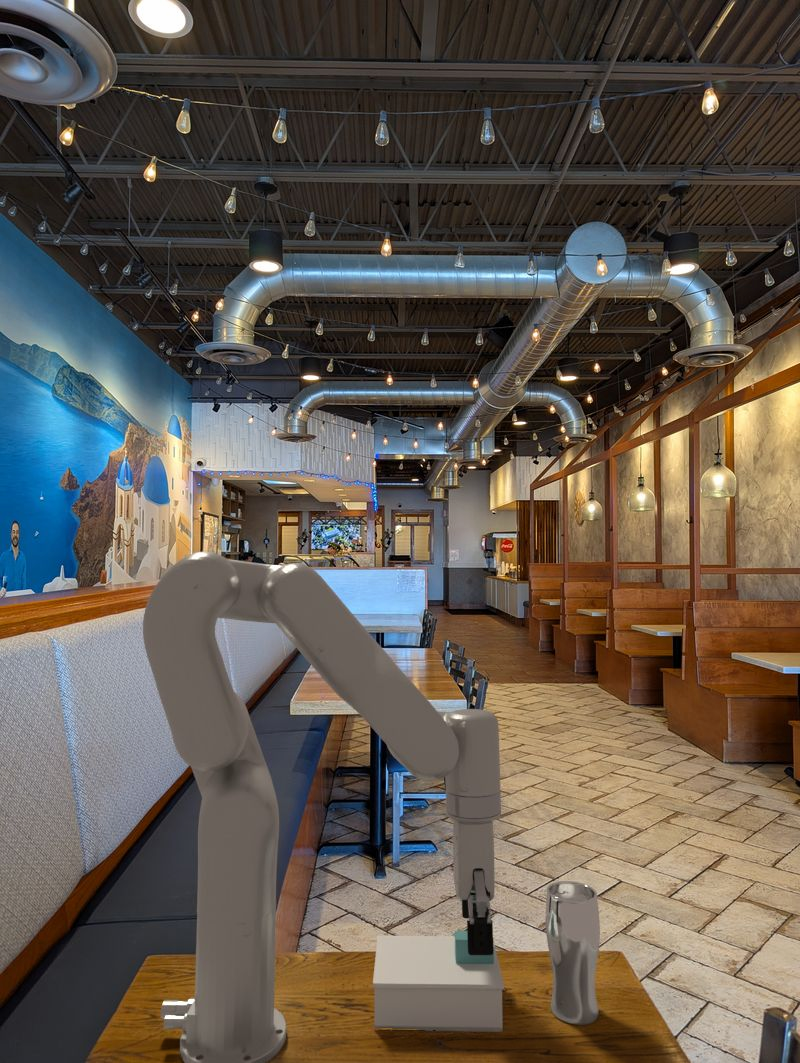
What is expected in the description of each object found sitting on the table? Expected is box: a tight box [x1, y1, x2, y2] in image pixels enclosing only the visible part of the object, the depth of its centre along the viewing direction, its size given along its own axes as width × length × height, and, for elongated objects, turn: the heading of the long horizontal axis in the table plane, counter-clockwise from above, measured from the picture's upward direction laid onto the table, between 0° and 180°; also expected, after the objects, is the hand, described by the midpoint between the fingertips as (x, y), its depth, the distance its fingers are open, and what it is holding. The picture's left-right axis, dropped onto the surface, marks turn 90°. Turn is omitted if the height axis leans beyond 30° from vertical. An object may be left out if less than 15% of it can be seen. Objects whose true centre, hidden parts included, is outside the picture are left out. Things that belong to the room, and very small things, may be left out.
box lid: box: [372, 930, 505, 990], centre depth 90 cm, size 16×12×4 cm
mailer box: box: [373, 988, 504, 1033], centre depth 90 cm, size 16×11×5 cm
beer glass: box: [545, 880, 601, 1026], centre depth 89 cm, size 7×7×15 cm
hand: (476, 934), depth 90 cm, fingers open, 9 cm apart
